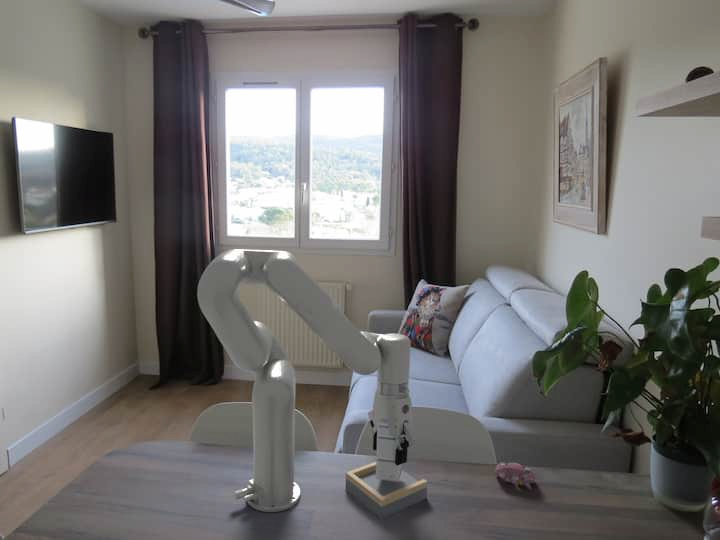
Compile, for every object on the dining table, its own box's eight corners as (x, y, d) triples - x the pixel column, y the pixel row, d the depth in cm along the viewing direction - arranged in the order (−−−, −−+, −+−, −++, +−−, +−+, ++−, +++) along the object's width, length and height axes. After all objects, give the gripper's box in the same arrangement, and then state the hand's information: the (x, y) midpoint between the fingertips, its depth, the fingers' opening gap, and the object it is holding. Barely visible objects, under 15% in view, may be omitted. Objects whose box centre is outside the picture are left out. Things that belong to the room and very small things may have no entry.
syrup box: (399, 482, 123) (402, 424, 121) (374, 479, 124) (377, 421, 122) (402, 470, 128) (405, 414, 126) (378, 466, 129) (381, 411, 127)
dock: (381, 518, 117) (382, 500, 116) (345, 489, 128) (345, 472, 127) (426, 498, 125) (427, 481, 124) (389, 472, 136) (389, 456, 135)
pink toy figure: (493, 485, 134) (494, 469, 130) (495, 470, 138) (496, 453, 134) (533, 493, 131) (535, 477, 127) (534, 478, 135) (536, 461, 131)
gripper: (429, 395, 118) (425, 467, 121) (381, 372, 132) (379, 437, 134) (405, 402, 114) (401, 476, 116) (358, 378, 127) (355, 445, 130)
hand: (389, 455), depth 125 cm, fingers closed on syrup box, 7 cm apart
